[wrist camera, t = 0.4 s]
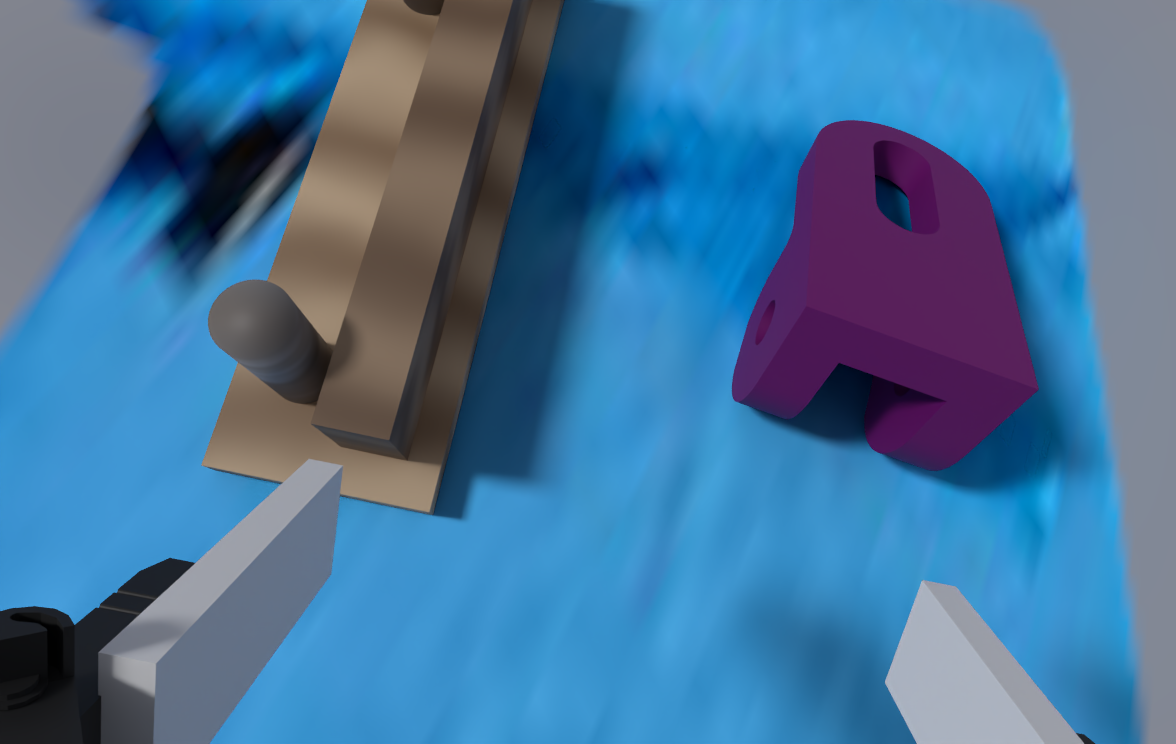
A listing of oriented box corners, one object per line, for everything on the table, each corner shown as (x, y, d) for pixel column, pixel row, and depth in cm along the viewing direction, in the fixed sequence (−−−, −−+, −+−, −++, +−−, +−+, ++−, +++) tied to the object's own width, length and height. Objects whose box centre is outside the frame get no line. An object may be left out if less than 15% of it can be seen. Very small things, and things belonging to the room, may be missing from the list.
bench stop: (432, 515, 33) (406, 494, 25) (215, 470, 32) (115, 434, 24) (571, -27, 42) (585, -172, 34) (403, -68, 42) (376, -224, 34)
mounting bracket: (757, 222, 46) (723, 433, 33) (819, 101, 39) (805, 305, 27) (897, 272, 46) (913, 502, 33) (980, 159, 39) (1039, 390, 27)
